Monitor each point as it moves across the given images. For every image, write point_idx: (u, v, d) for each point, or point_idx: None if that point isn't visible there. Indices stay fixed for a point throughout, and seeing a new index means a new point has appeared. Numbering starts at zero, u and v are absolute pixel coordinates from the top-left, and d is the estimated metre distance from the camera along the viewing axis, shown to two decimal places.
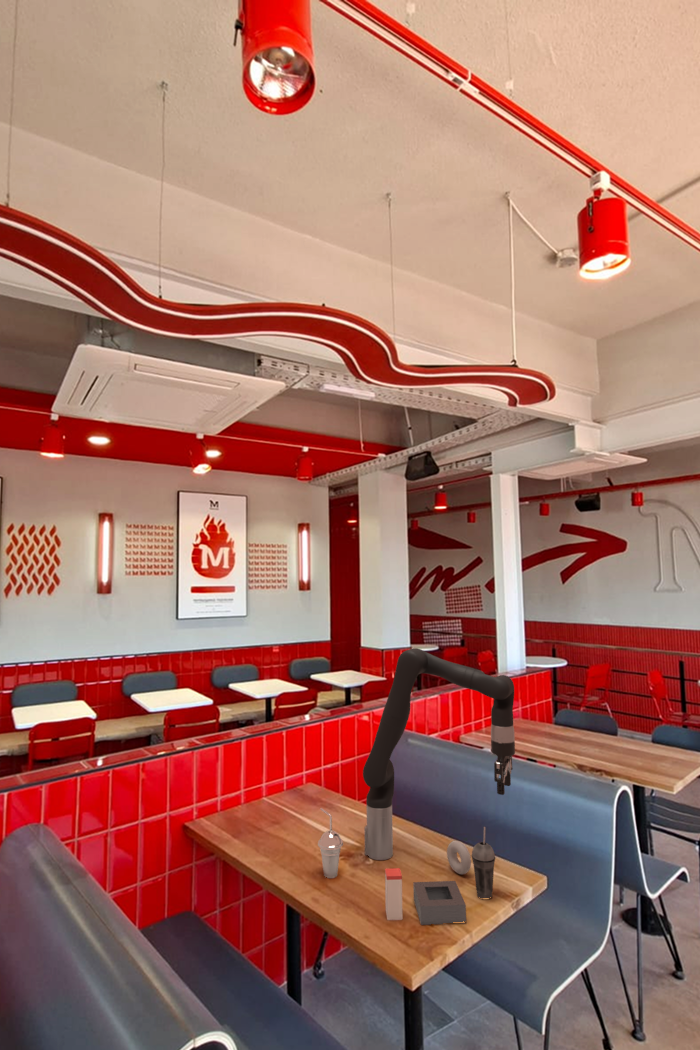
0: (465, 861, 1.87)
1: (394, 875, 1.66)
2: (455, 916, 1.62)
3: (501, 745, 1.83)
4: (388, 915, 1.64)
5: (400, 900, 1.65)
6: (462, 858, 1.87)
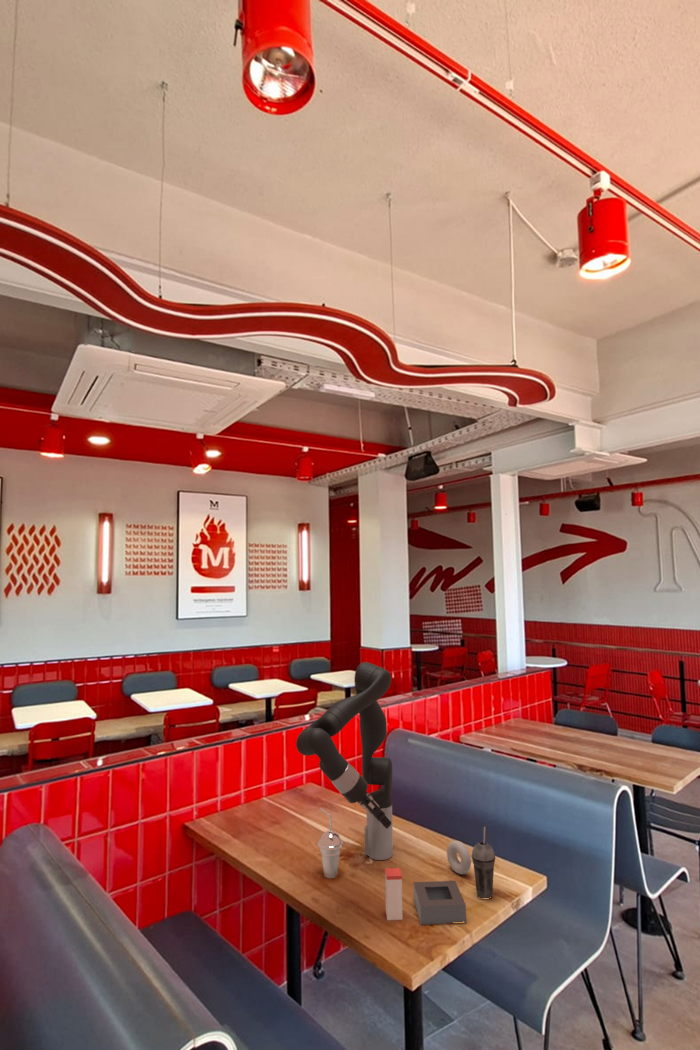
0: (465, 861, 1.87)
1: (394, 875, 1.66)
2: (455, 916, 1.62)
3: None
4: (388, 915, 1.64)
5: (400, 900, 1.65)
6: (462, 858, 1.87)
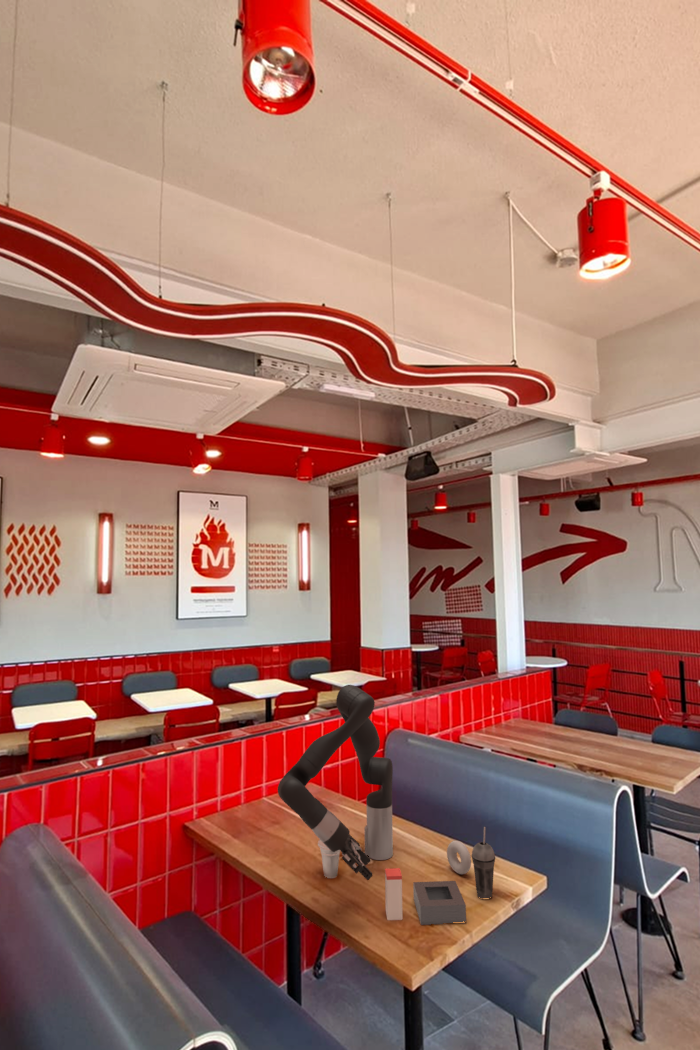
0: (465, 861, 1.87)
1: (394, 875, 1.66)
2: (455, 916, 1.62)
3: None
4: (388, 915, 1.64)
5: (400, 900, 1.65)
6: (462, 858, 1.87)
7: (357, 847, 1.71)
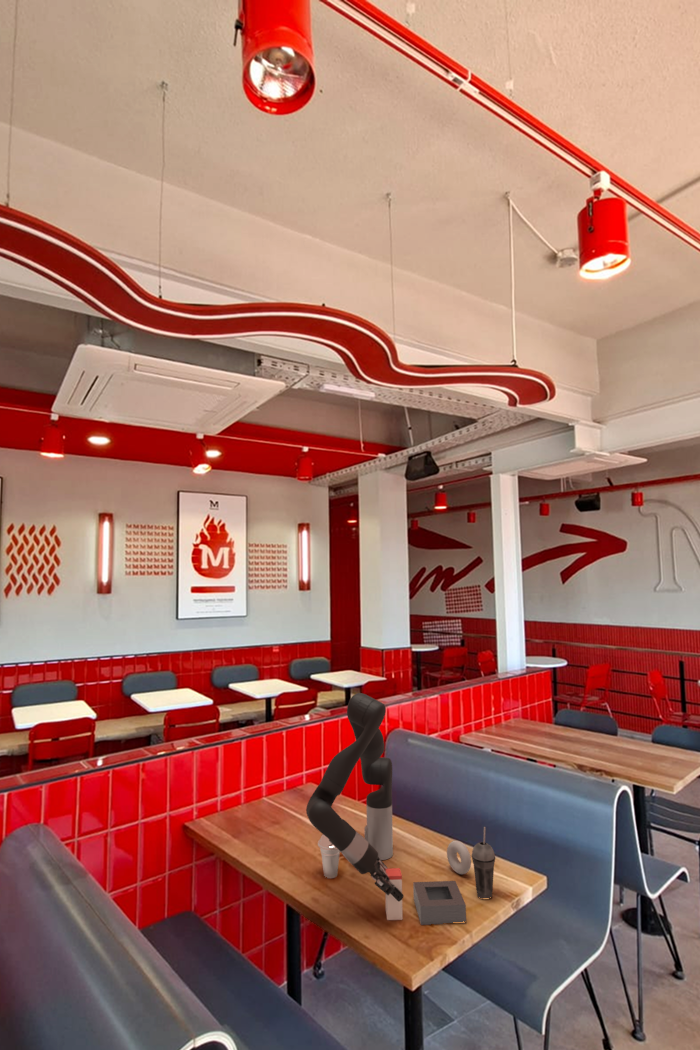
0: (465, 861, 1.87)
1: (394, 875, 1.66)
2: (455, 916, 1.62)
3: None
4: (388, 915, 1.64)
5: None
6: (462, 858, 1.87)
7: None
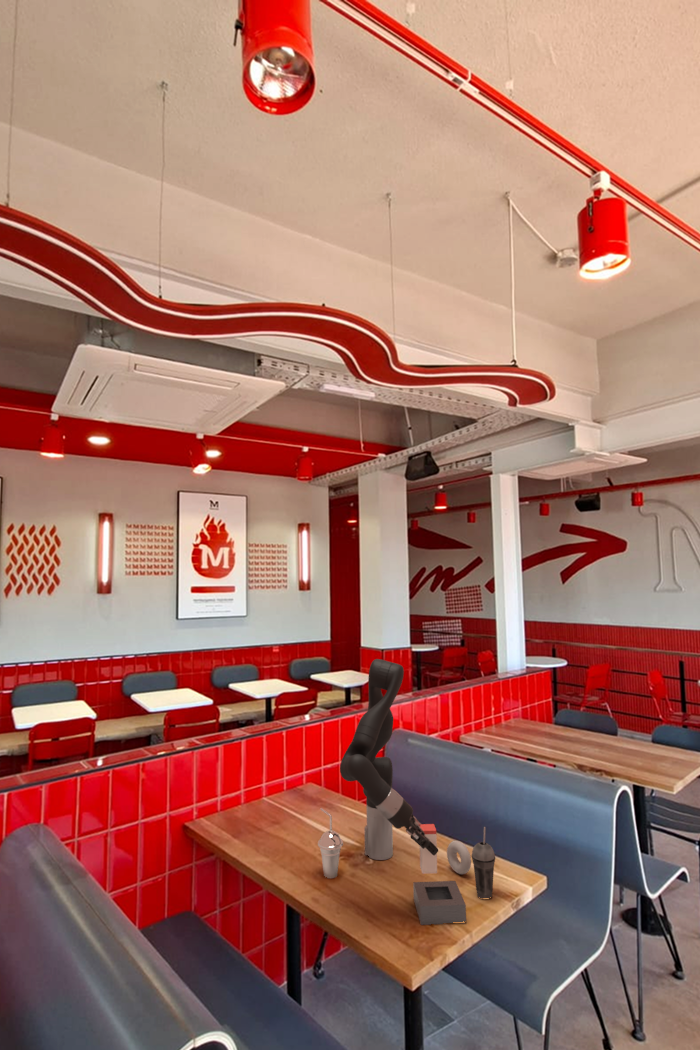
0: (465, 861, 1.87)
1: (429, 830, 1.68)
2: (455, 916, 1.62)
3: None
4: (423, 868, 1.67)
5: (435, 854, 1.68)
6: (462, 858, 1.87)
7: None
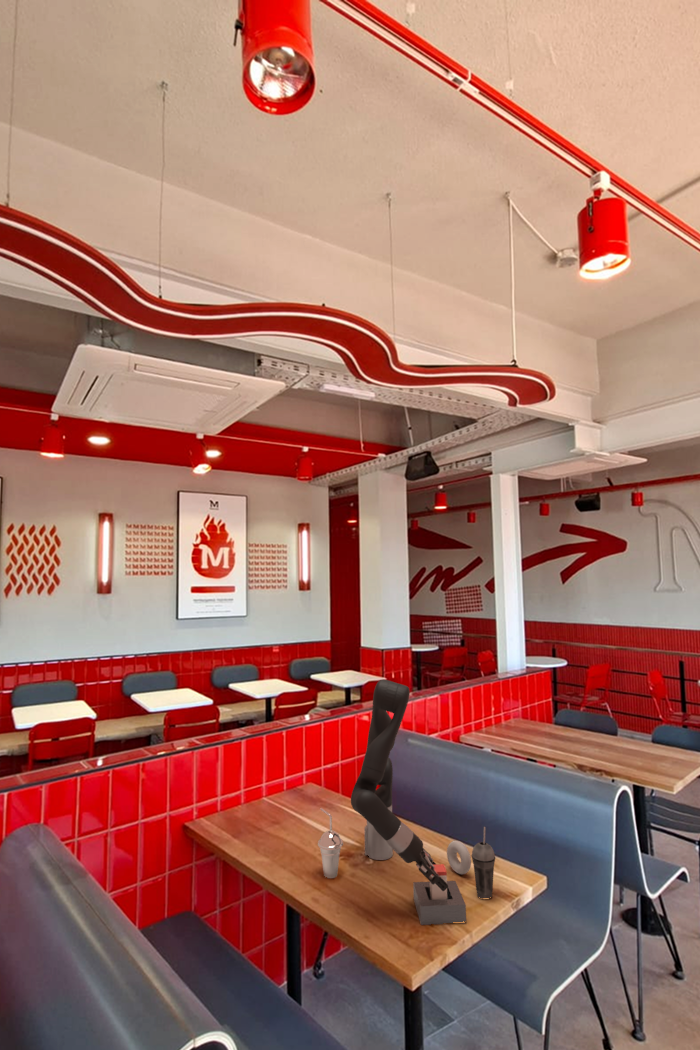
0: (465, 861, 1.87)
1: (439, 871, 1.68)
2: (455, 916, 1.62)
3: None
4: None
5: (445, 896, 1.67)
6: (462, 858, 1.87)
7: (429, 858, 1.73)
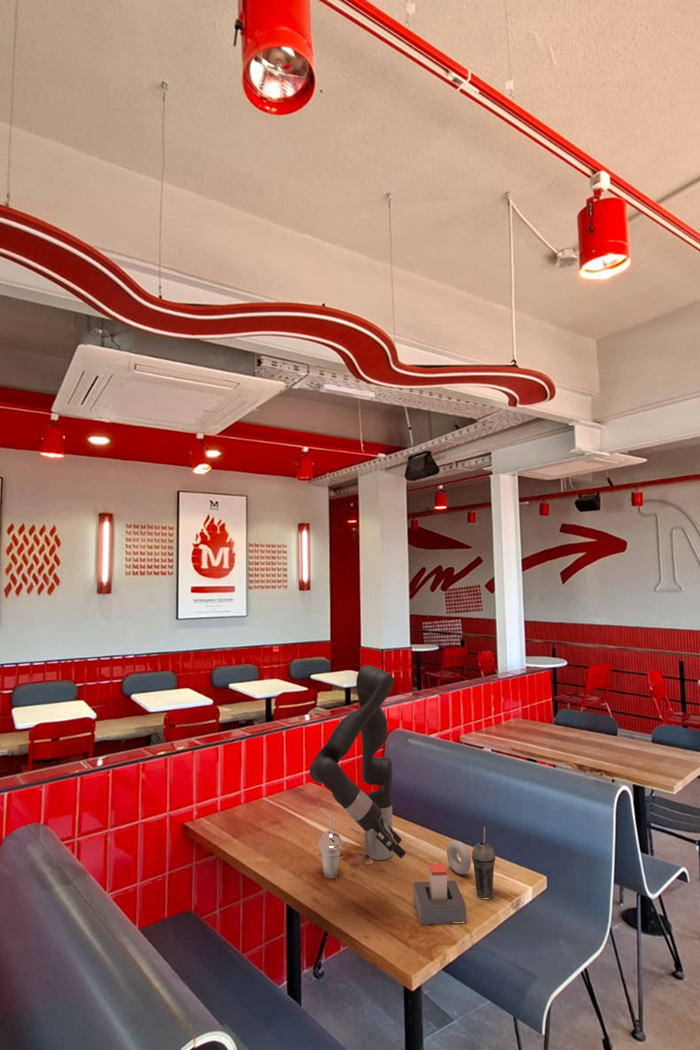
0: (465, 861, 1.87)
1: (439, 871, 1.68)
2: (455, 916, 1.62)
3: None
4: None
5: (445, 896, 1.67)
6: (462, 858, 1.87)
7: (389, 827, 1.73)
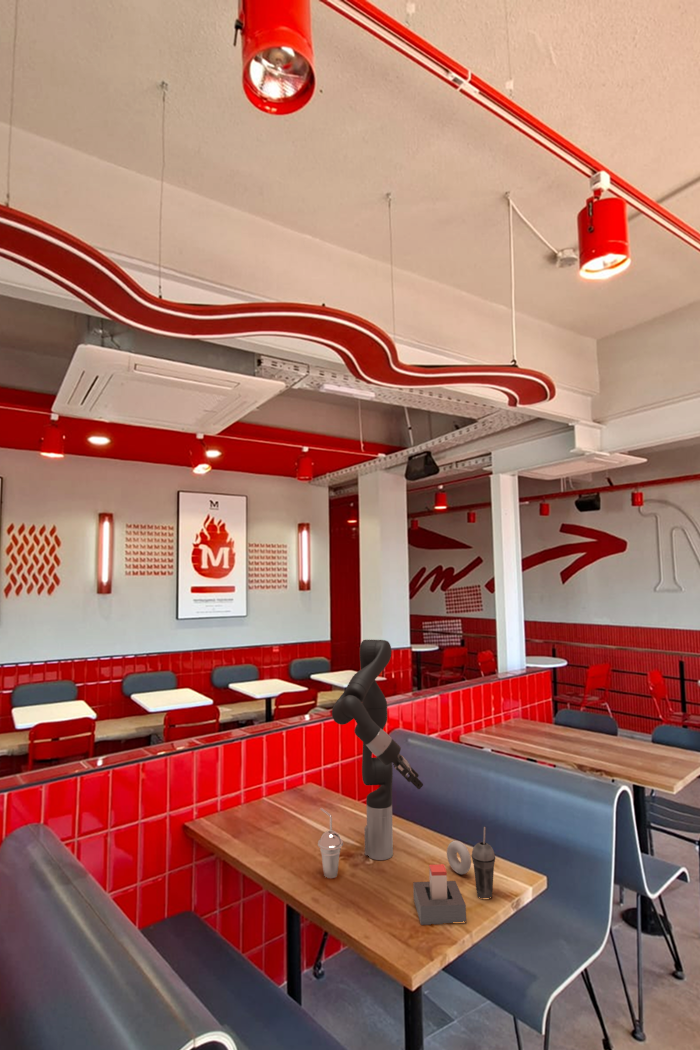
0: (465, 861, 1.87)
1: (439, 871, 1.68)
2: (455, 916, 1.62)
3: None
4: None
5: (445, 896, 1.67)
6: (462, 858, 1.87)
7: (407, 763, 1.86)
